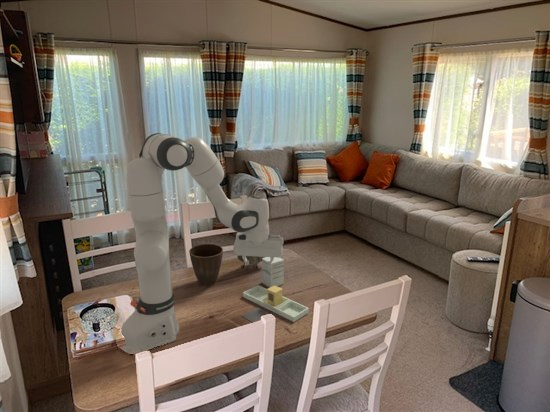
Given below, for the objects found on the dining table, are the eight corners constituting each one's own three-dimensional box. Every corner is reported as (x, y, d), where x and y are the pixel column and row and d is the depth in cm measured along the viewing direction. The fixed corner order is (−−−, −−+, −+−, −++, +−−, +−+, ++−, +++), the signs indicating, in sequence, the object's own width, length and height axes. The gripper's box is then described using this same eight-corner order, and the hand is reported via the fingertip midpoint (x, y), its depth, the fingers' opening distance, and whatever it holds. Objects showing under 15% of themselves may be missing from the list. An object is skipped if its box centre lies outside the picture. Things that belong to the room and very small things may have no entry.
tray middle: (275, 313, 160) (275, 308, 159) (258, 305, 166) (258, 300, 165) (290, 305, 167) (290, 299, 166) (273, 297, 173) (274, 292, 172)
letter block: (274, 308, 163) (274, 292, 161) (266, 304, 166) (266, 289, 164) (282, 304, 166) (282, 288, 164) (274, 300, 169) (274, 285, 167)
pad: (257, 326, 152) (257, 325, 152) (241, 317, 158) (241, 316, 157) (273, 316, 158) (273, 315, 158) (257, 308, 164) (257, 307, 164)
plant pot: (230, 282, 186) (229, 250, 181) (204, 293, 175) (202, 259, 171) (210, 272, 195) (209, 241, 191) (184, 282, 185) (182, 250, 180)
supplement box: (261, 283, 185) (261, 258, 181) (274, 279, 189) (274, 254, 185) (270, 289, 179) (271, 263, 175) (284, 285, 183) (284, 259, 180)
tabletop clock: (258, 260, 209) (257, 214, 202) (270, 265, 203) (271, 218, 196) (237, 268, 199) (236, 220, 192) (249, 274, 193) (249, 225, 186)
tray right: (294, 323, 154) (294, 317, 153) (276, 314, 160) (276, 308, 159) (308, 313, 161) (308, 308, 160) (291, 305, 167) (291, 299, 166)
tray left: (258, 305, 166) (258, 300, 166) (242, 297, 172) (242, 292, 171) (273, 297, 173) (273, 291, 172) (258, 290, 179) (258, 284, 178)
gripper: (284, 232, 166) (283, 263, 170) (235, 230, 168) (235, 261, 172) (283, 238, 160) (282, 270, 164) (232, 235, 162) (232, 267, 166)
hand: (258, 265), depth 168 cm, fingers open, 8 cm apart
